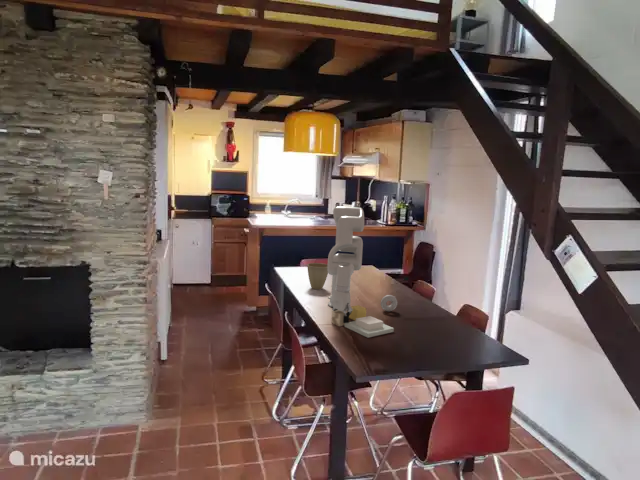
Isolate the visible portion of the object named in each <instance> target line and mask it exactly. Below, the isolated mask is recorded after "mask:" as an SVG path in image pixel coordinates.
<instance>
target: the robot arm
mask: <svg viewBox="0 0 640 480" xmlns="http://www.w3.org/2000/svg"><path fill="white" fill-rule="evenodd" d="M332 216H333V219H334V223H335V226H336V230H335V231H336V234H335V245H333V246H332V248H331V249H330V251H329V253H328V256H327V257H328V258H327V265H328V266H327V270H328V274H329V275H330V276H331V277H332V278H331V279H332V280H331V294H330V295H329V296H328V297H327V299H329V301H328V303H327V306H329V307H331V308H332V310H331V311H336V310H340V311H344V314H345V316H344V320H343V323H348V322H350V318H349V315H350V314H351V312H352V311H353V309H352V307H351V306H352V305H351V291H350V290H351V282H352V281H351V279H352V277H351V276H353V274H354V272H356V271H360V270H361V269H362V263H363V247H364V243H363V242H364V241H363V239H362V237H360V236H357V235H354V233H353V232H355V233H361V232H363V231H364V229H365V212H364V209H363V208H362V207H357V206H356V207H355V206H339V205H338V206H336V207H334V208H333V212H332ZM337 252H344V253H337ZM345 252H347V253H345ZM348 252H349V253H348ZM351 253H352V254H351ZM346 312H347V313H346Z"/></svg>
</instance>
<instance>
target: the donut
mask: <svg viewBox="0 0 640 480" xmlns="http://www.w3.org/2000/svg"><path fill="white" fill-rule="evenodd" d="M388 302H390V303H391V304H390V305H388V304H387V303H388ZM380 307H381V308H382V310H383V311H385V312H392V311H394V310H395V309H396V308H397V307H398V300H397V298H396V296H394V295H392V294H386V295H385V296H383V297H382V299H381V301H380Z"/></svg>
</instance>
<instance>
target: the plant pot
mask: <svg viewBox="0 0 640 480" xmlns="http://www.w3.org/2000/svg"><path fill="white" fill-rule="evenodd" d="M327 266H328V263H327V264H326V263H320V262H319V263H318V262H310V263H307V273H308V274H307V275H308V281H309V284H310V288H311V289H312V290H317V289H319V290H322V289H323V288H324V285H325V283H326V281H327V277H328V276H329V275H328V274H329V273H328V270H327Z"/></svg>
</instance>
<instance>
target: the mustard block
mask: <svg viewBox="0 0 640 480" xmlns="http://www.w3.org/2000/svg"><path fill="white" fill-rule="evenodd" d="M350 306H351V307H352V309H353V311H352V312H351V314H350V315H349V320H350V319H351V320H352V321H356V318H362V317H367V308H366V307H364V306H362V305H359V304H357V305H350Z"/></svg>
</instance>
